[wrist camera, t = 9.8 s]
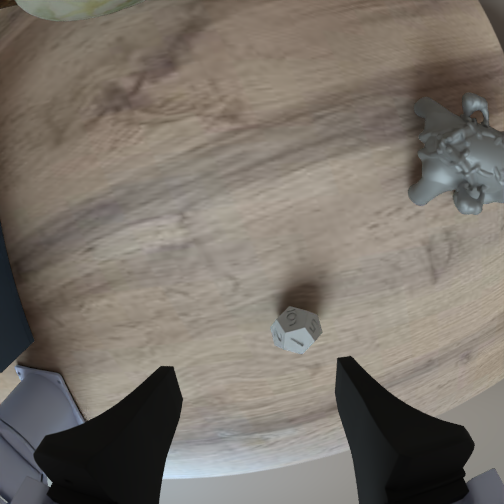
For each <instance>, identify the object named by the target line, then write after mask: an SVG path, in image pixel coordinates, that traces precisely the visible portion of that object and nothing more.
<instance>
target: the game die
mask: <svg viewBox="0 0 504 504" xmlns="http://www.w3.org/2000/svg"><path fill="white" fill-rule="evenodd" d="M270 328H271V332H272V336H273V340H274V344H275V346H277V347H280V348H282V349H284V350H288V351H291V352H295V353H299V354H303V353H304V352H305V351H306V350H307V349H308V348H309V347H310V346H311V345H312V344H313V343H314V342H315V341H316V340H317V338H318V337H319V336H320V335H321V334H322V329H321V325H320V321H319V318H318V315H317V314H315V313H312V312H309V311H306V310H302V309H299V308H295V307H291V306H289V307H288V308H287V309H286V310H285V311H284V312H283V313H282V314H281V315H280V316H279V317H278V318H277V319H276V320H275V322H274V323H273V324H272V326H271V327H270Z"/></svg>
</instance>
